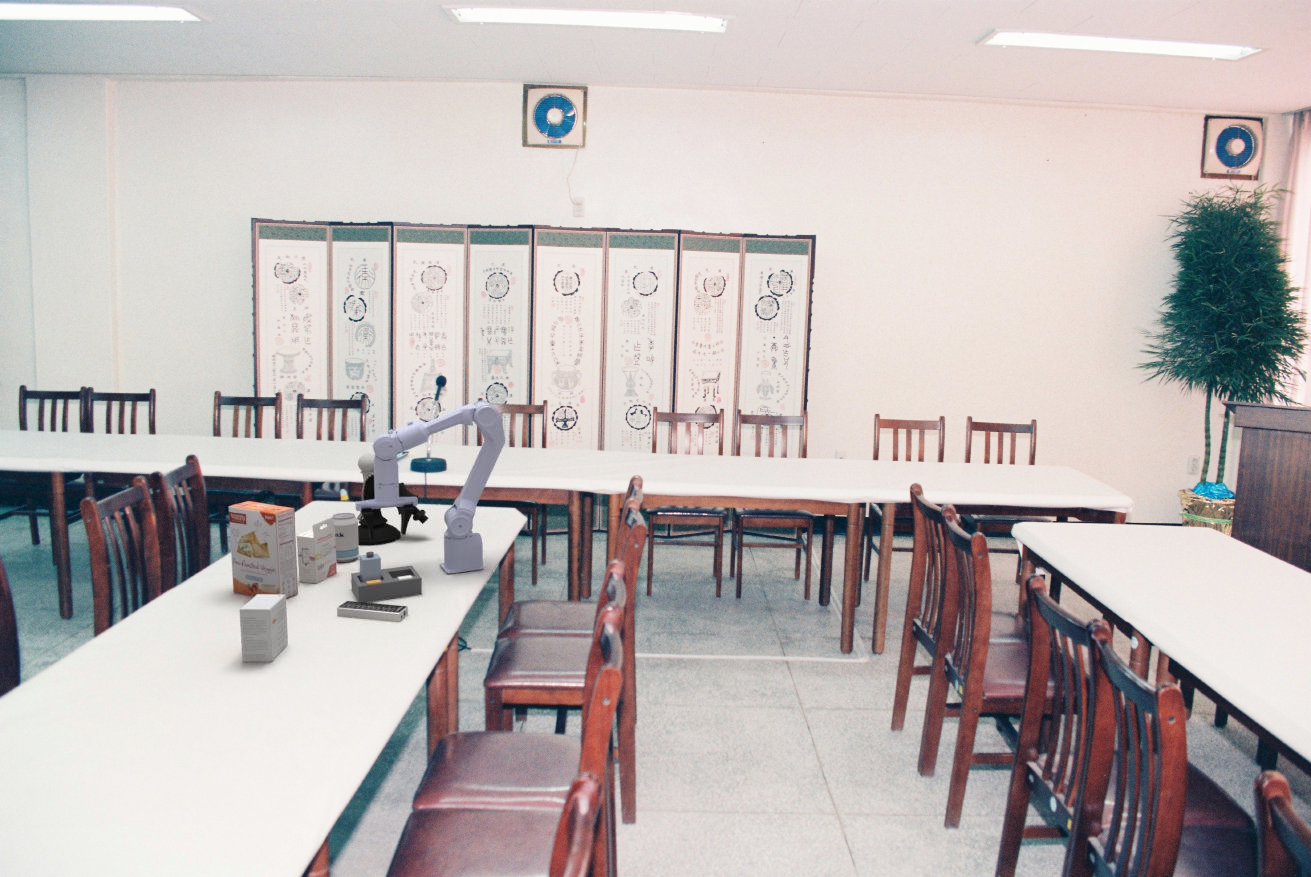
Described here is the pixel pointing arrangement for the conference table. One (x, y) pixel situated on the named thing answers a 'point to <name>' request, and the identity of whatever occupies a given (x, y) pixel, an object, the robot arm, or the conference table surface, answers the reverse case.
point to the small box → (263, 627)
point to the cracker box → (263, 549)
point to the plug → (370, 567)
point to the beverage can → (346, 537)
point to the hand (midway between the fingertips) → (387, 535)
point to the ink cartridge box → (317, 552)
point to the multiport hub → (372, 611)
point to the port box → (388, 585)
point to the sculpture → (381, 529)
